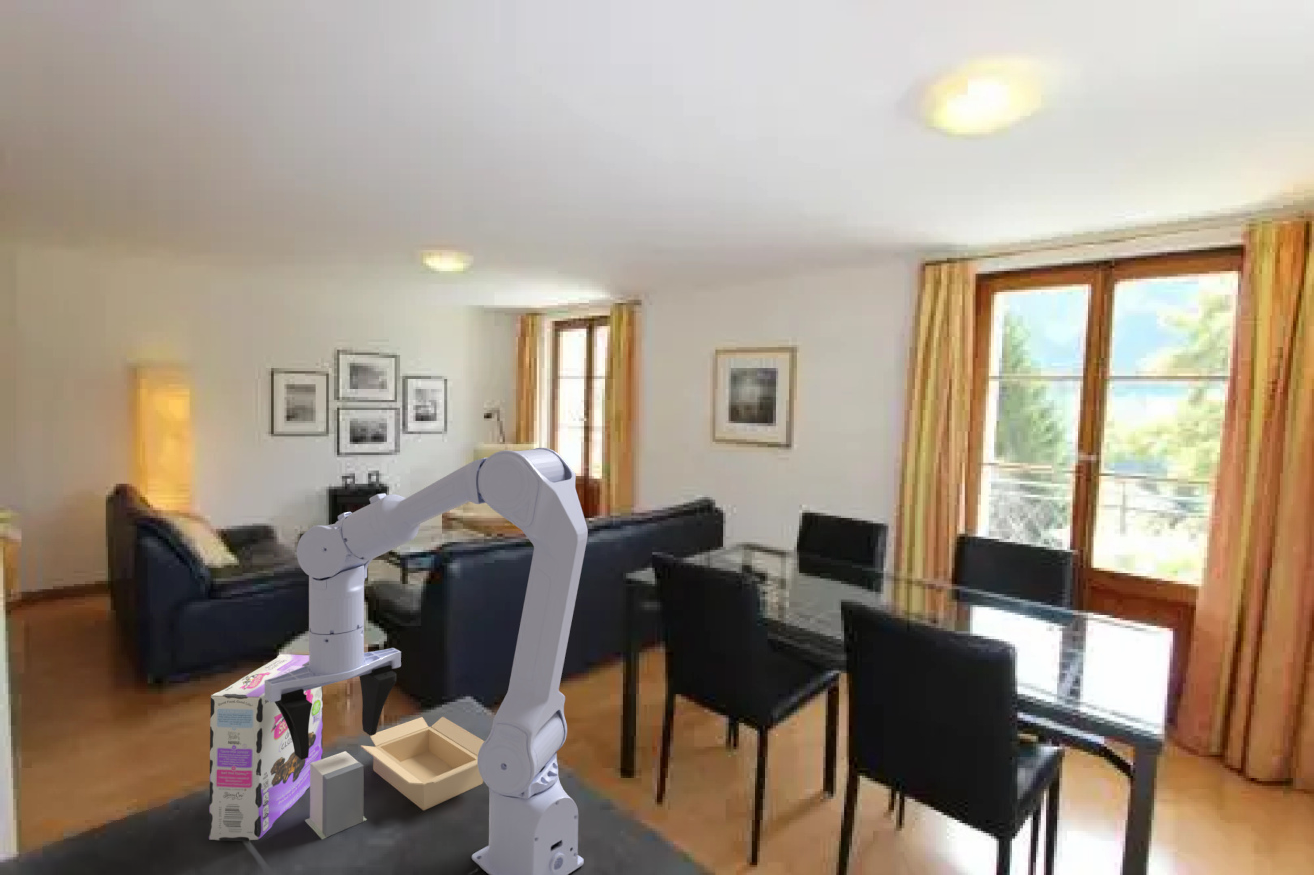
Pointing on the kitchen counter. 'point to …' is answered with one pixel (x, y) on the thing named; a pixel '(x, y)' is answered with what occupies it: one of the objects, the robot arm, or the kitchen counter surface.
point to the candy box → (257, 754)
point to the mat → (318, 828)
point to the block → (336, 793)
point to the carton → (427, 760)
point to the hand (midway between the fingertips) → (336, 743)
